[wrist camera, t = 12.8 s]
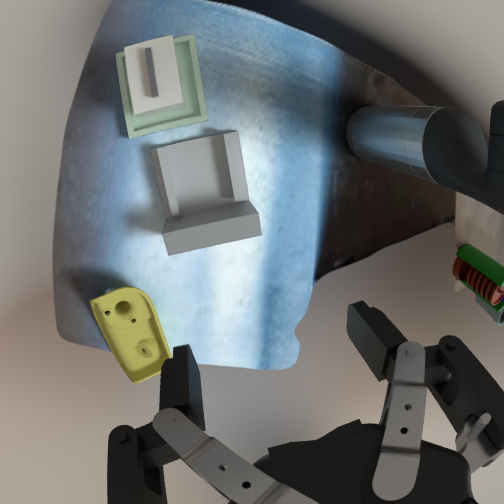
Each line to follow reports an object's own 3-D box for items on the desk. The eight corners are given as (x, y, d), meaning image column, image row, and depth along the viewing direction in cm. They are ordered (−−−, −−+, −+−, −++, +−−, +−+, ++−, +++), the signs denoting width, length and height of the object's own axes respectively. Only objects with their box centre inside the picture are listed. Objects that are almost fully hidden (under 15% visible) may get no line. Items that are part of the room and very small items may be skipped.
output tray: (194, 38, 30) (194, 34, 28) (207, 120, 36) (208, 120, 34) (119, 56, 29) (115, 53, 27) (132, 138, 35) (129, 139, 33)
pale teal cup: (494, 285, 66) (518, 304, 55) (476, 310, 68) (500, 330, 57) (489, 270, 62) (516, 289, 51) (470, 296, 64) (497, 318, 53)
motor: (448, 263, 56) (506, 307, 38) (468, 236, 54) (528, 273, 36) (457, 284, 60) (508, 326, 42) (476, 259, 58) (529, 296, 40)
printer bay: (237, 131, 37) (245, 131, 31) (251, 218, 43) (261, 235, 37) (151, 149, 36) (142, 153, 30) (172, 235, 42) (168, 255, 35)
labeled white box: (176, 53, 30) (171, 30, 21) (185, 108, 34) (182, 101, 25) (138, 62, 30) (121, 43, 21) (147, 117, 33) (132, 114, 24)
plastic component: (175, 365, 49) (129, 387, 44) (160, 342, 54) (117, 361, 49) (146, 278, 39) (84, 303, 34) (132, 258, 45) (78, 279, 40)
